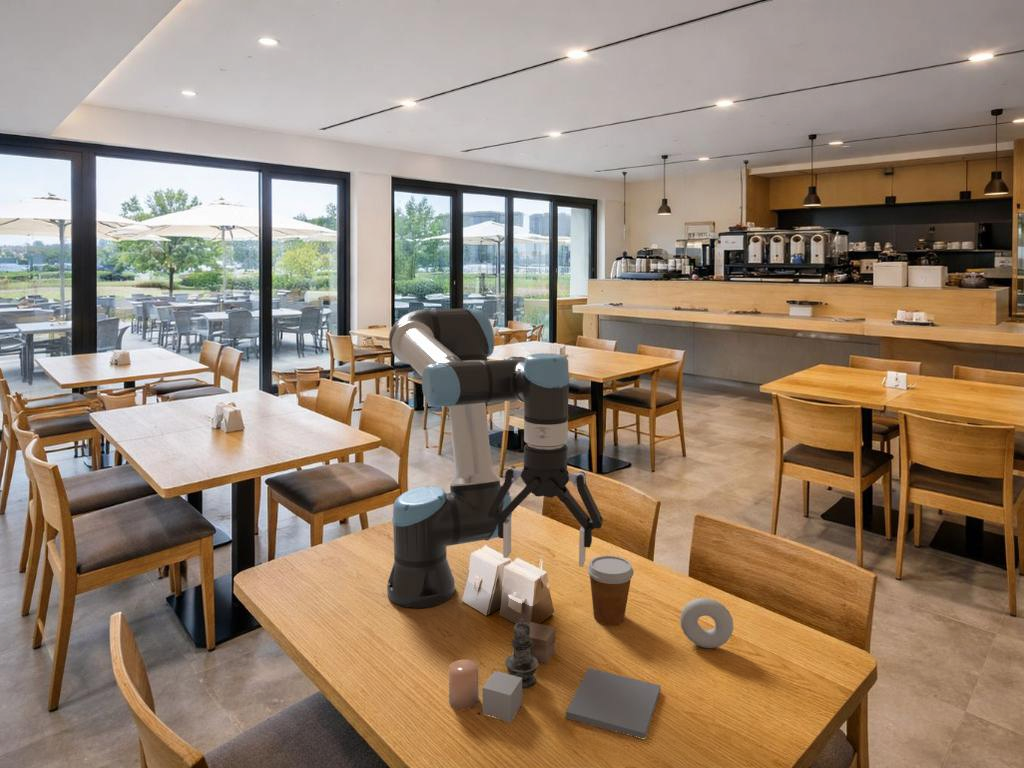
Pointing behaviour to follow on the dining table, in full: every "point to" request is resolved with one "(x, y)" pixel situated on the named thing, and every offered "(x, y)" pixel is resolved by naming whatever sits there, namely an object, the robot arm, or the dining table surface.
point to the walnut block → (542, 642)
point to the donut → (713, 610)
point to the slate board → (614, 702)
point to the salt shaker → (522, 656)
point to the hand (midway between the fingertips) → (544, 559)
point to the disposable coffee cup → (610, 588)
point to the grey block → (502, 696)
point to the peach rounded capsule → (463, 684)
